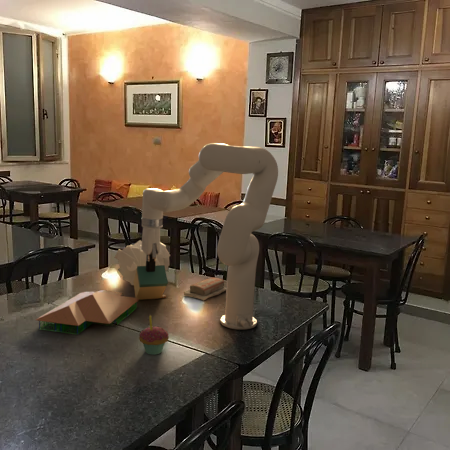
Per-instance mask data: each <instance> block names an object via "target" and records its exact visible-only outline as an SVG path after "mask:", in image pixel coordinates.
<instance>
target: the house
mask: <svg viewBox="0 0 450 450" xmlns="http://www.w3.org/2000/svg"><path fill="white" fill-rule="evenodd" d="M131 297H132V296H124V295H123V292H120V291H119V292H118V291H113V290H107V289H98V290H97V291H81V292H79V293H78V294H76V295H74V296H73V297H71V298H70V299H68V300H66V301H64V302H63V303H61V304H59V305H57V306H55V307H54V308H53V309H51V310H49V311H47V312H46V313H44V314H42V315H41V316H39V317H38V318H35V321H38V329H39V330H43V331H49V332H50V331H51V332H58V333H65V334H72V335H79V334H80V333H81V332H83V331H84V330H86V329H87V328H88V327H90V326H91V325H92V324H94V325H97V324H100V325H103V326H104V325H108V326H109V327H112V323H114V322H115V321H116V320H119V321H118V324H120V323H121V322H122V321H123V319H121V317H124V319H126V318H127V317H128V316H129V314H128V311H130V313H133V312H135V310H136V309H137V307H138V304H137V302H139V301H141V300H140V299H137V298H131ZM86 322H87V325H86ZM49 324H51V325H52V327H53V329H48V325H49ZM70 326H71V327H72V330H74V329H75V330H74V332H70V331H69V330H70ZM45 327H46V328H45ZM61 328H62V330H61ZM66 329H67V331H68V332H67V331H66ZM79 329H80V331H79Z"/></svg>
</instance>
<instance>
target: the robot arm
mask: <svg viewBox="0 0 450 450" xmlns="http://www.w3.org/2000/svg"><path fill="white" fill-rule="evenodd" d="M223 173H228V174H236V175H248V174H250V175H251V174H252V177H251V180H250V182H249V183H248V185H247V188H246V191H245V195H244V198H243V201H242V202H241V203H240V204H236V205H234V206H233V207H232V208H231V209H229V211H228V212H227V214H226V215H225V218H224V222H223V225H222V228H221V231H220V235H219V239H218V243H217V247H216V254H217V258H218V259H219V261H220V262H221V263H222V264H223V265H225V266H227V274H226V292H225V307H224V309H225V311H224V313H225V314H224V315H222V316H221V317H220V321H219V322H220V325H222V326H223V327H226V328H228V329H231V330H240V331H241V330H250V329H253V328H255V327H256V326H257V325H258V320H257V319H256V318H255V317H254V305H255V302H254V301H255V290H256V289H255V288H256V275H257V273H256V272H257V264H258V260H259V259H258V258H259V254H260V243H259V239H258V238H257V237H256V236H255V235H254V234H253V232H256V231H258V230H260V229H262V227H263V226H264V225H265V221H266V219H267V215H268V212H269V208H270V205H271V202H272V199H273V195H274V191H275V189H276V186H277V182H278V178H279V165H278V162H277V160H276V158H275V157H274V155H273V154H272V153H271V152H270V151H269V150H267V149H266V148H263V147H261V146H240V145H229V144H226V143H223V142H222V143H221V142H220V143H218V142H211V143H207V144H205V145H203V147H201V149H200V151H199V153H198V160H197V161H196V162H195V163H193V164H192V165H191V166H190V167H189V169H188V177H189V178H188V180H187V181H186V182H185V183H183V185H181V186H180V187H179V188H178V189H170V190H162V189H160V188H154V187H153V188H152V187H151V188H150V187H149V188H145V189H143V191H142V204H141V205H142V206H141V210H142V211H141V227H142V235H141V242H142V246H141V249H142V251H143V252H144V253H145V254H146V271H147V272H155V262H156V254H157V255H158V254H159V252H160V242H161V229H162V228H163V225H164V224H163V223H164V220H163V219H164V213H172V212H175V211H181V210H184V209H187V208H189V207H190V206H191V205H192V204H193V203H195V202H196V201H197V200H199V198H200V197H201V196H202V195H203V193H204V192H205V190H207V189H206V188H207V187H208V186H210V184H212V183H213V182H214V181H215V180H216V179H218V177H219V176H221V175H223Z"/></svg>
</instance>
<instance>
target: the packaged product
mask: <svg viewBox="0 0 450 450" xmlns="http://www.w3.org/2000/svg"><path fill="white" fill-rule="evenodd" d="M226 287H227V286H226ZM226 287H225V281H224V279H222V278H218V277H213V276H212V277H209V278H207V279H206V278H205V279H204V280H201V281H198V282H195V283H193V284H191V285H190V286H189V289H188V290H185V291H183V296H185V297H188V298H194V299H198V300H200V301H206V300H207V299H209V298H212V297H215V296H218V295H221V293H223V292H225V291H226Z"/></svg>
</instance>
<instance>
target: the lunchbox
mask: <svg viewBox="0 0 450 450" xmlns="http://www.w3.org/2000/svg"><path fill="white" fill-rule="evenodd" d="M166 271H167V270H165V266H164V265H156V266H155V272H147V271H146V266H137V271H136V274H135V278H134V281H133V283H134V285H133V289H134V297H136V298H137V299H143V300H155V298H158V299H163V298H162V296H163V295H164V293H165V291H166V288H167V286H168V284H169V281H168V276H167V272H166Z"/></svg>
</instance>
